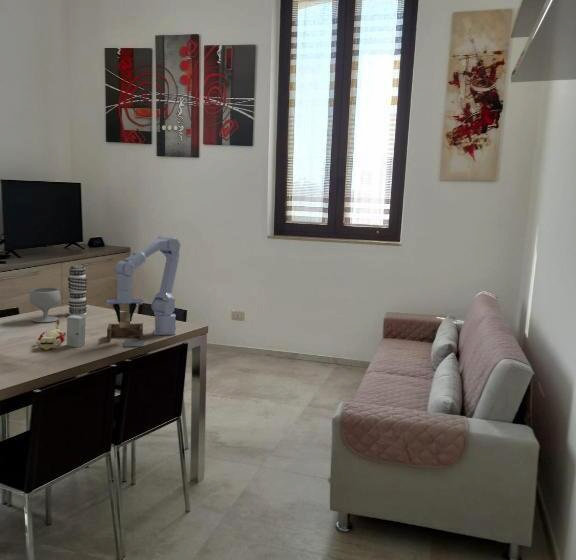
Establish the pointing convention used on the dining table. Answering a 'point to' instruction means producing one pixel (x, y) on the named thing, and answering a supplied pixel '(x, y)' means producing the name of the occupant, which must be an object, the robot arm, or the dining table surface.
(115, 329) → the brown wooden arch
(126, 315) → the oak block
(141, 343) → the mat
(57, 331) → the cat figure
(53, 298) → the chalice
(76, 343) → the skincare box
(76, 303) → the decorative candle
